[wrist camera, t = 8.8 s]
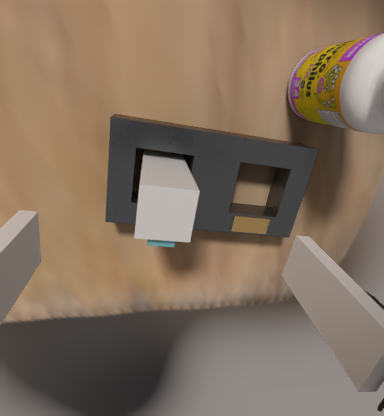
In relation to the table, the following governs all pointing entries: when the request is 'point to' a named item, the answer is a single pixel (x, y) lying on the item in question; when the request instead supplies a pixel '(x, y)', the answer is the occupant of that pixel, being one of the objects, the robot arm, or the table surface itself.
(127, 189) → the panel
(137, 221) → the plug
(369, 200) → the table surface
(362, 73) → the supplement bottle
